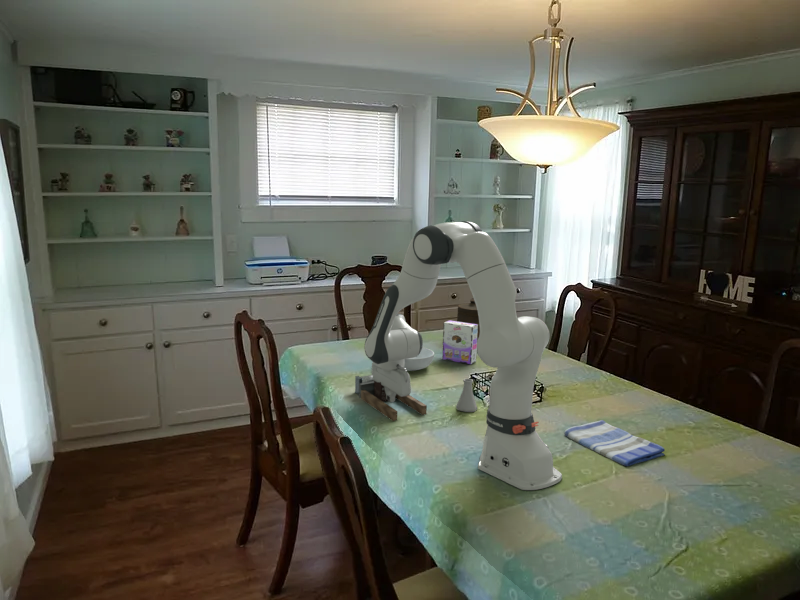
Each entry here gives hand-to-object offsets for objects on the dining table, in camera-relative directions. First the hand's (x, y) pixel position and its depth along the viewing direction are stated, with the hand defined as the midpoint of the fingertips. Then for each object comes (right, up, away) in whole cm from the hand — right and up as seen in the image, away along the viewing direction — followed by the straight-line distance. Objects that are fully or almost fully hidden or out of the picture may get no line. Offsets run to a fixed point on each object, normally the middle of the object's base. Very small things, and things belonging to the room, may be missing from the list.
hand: (390, 400), depth 194 cm
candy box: (+28, +8, +53) cm, 61 cm away
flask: (+25, -3, -1) cm, 26 cm away
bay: (+1, -2, -1) cm, 2 cm away
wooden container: (+37, +13, +81) cm, 90 cm away
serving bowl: (+6, +6, +41) cm, 42 cm away
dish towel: (+65, -9, -26) cm, 70 cm away
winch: (-7, +1, +12) cm, 14 cm away
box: (-2, 0, +6) cm, 7 cm away
